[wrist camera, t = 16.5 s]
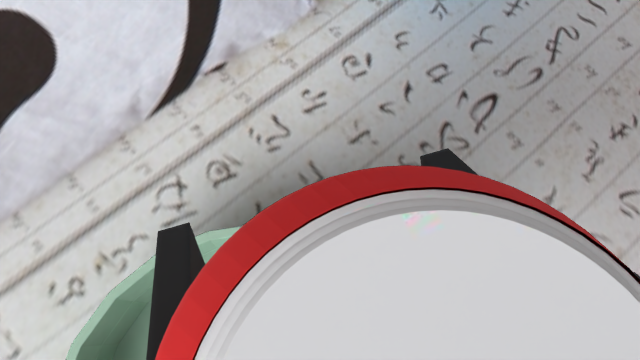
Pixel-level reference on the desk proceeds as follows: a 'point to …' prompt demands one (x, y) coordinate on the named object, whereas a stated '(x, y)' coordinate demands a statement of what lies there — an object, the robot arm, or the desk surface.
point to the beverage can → (408, 278)
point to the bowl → (131, 311)
